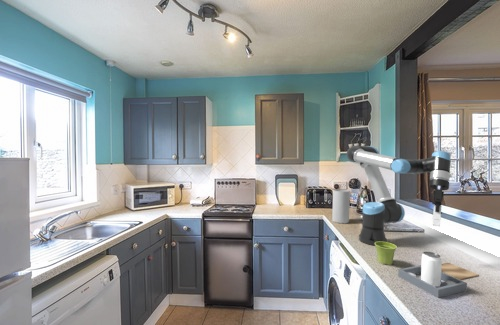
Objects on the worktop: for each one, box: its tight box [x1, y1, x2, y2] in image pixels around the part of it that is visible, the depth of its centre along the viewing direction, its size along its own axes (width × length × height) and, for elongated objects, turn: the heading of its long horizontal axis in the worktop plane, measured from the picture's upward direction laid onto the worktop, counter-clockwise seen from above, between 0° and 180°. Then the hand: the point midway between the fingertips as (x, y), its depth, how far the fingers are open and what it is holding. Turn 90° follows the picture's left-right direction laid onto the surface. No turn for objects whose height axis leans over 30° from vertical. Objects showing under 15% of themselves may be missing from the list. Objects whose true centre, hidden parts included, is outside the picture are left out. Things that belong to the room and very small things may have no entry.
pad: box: [441, 262, 480, 281], centre depth 106 cm, size 12×12×1 cm
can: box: [420, 251, 443, 288], centre depth 95 cm, size 6×6×12 cm
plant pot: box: [375, 241, 398, 266], centre depth 114 cm, size 9×9×9 cm
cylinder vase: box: [331, 188, 351, 224], centre depth 185 cm, size 12×12×25 cm
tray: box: [397, 264, 468, 298], centre depth 95 cm, size 16×16×3 cm
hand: (436, 222), depth 110 cm, fingers open, 13 cm apart
